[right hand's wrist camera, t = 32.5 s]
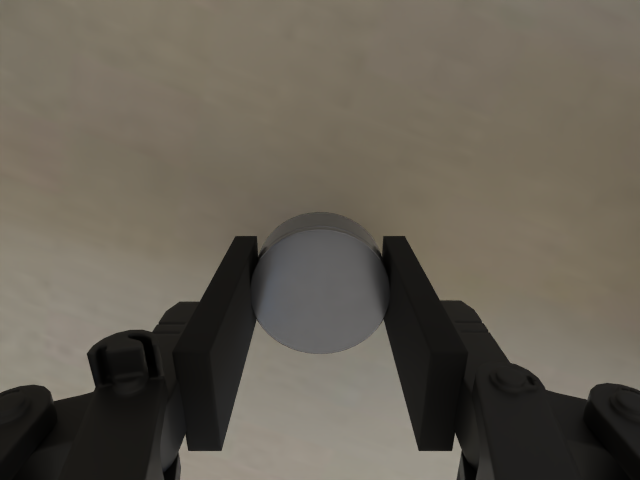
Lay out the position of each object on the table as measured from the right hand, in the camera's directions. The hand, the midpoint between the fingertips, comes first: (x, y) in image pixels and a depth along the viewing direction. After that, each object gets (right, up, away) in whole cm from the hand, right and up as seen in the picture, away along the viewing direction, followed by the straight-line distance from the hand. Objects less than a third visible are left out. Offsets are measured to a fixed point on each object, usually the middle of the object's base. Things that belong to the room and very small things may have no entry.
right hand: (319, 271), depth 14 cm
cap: (0, -1, -1) cm, 2 cm away
